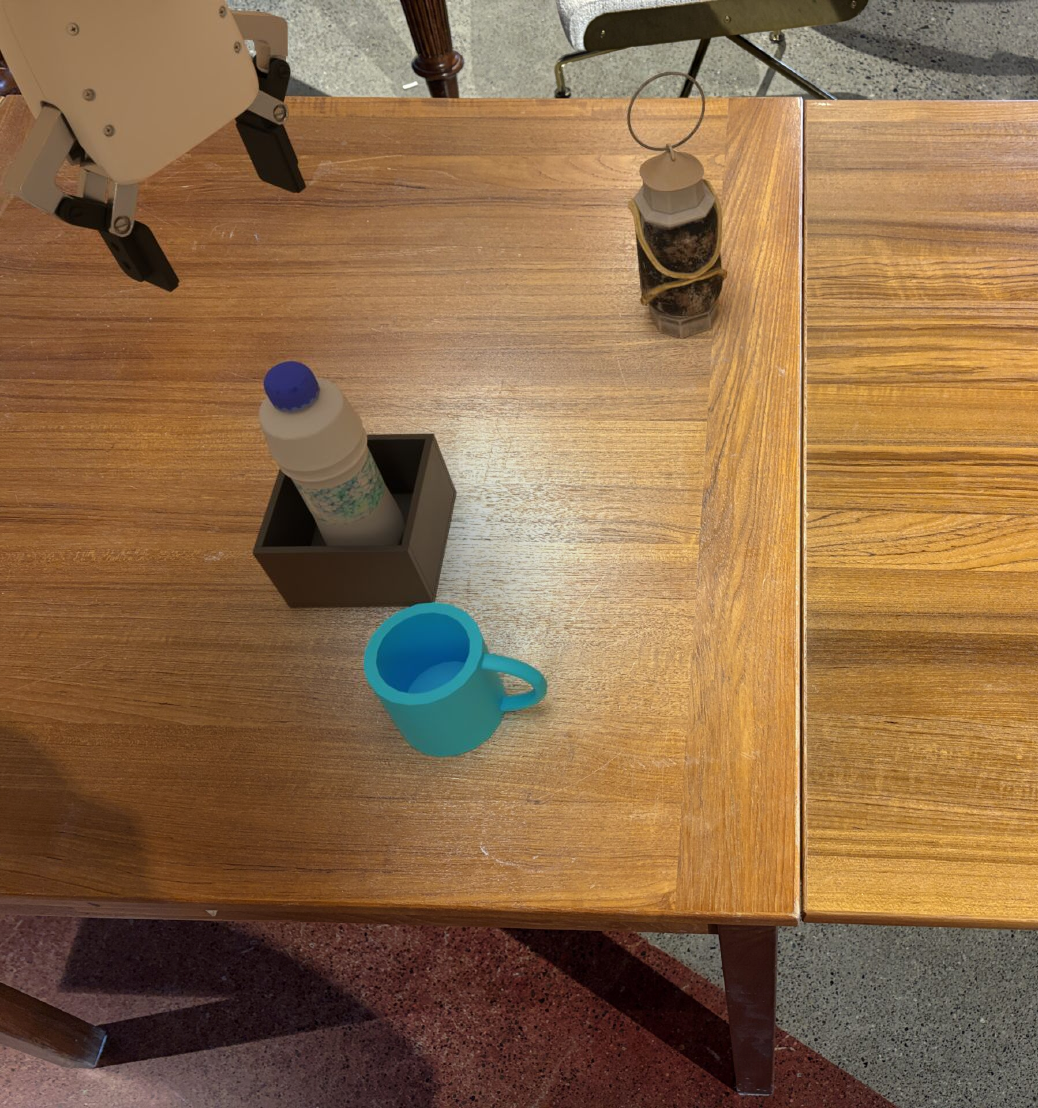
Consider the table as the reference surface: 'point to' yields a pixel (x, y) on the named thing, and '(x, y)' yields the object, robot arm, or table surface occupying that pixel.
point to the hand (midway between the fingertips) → (223, 231)
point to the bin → (364, 571)
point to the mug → (443, 679)
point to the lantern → (677, 237)
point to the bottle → (328, 458)
